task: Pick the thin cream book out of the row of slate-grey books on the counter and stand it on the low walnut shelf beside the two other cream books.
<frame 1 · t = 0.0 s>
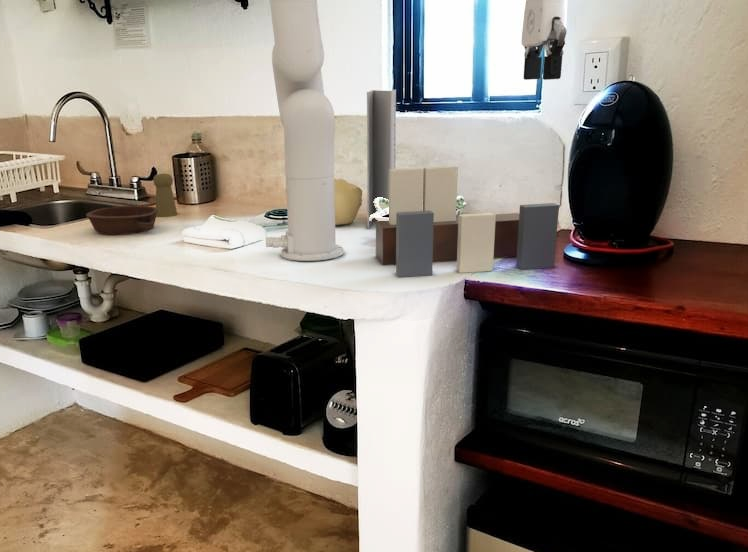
hand: (541, 79, 147), 31 cm above the worktop, tool pointing down, fingers open, 9 cm apart
olive pawn piece: (166, 215, 213), on the worktop
cream book: (474, 270, 138), on the worktop
dish: (124, 231, 193), on the worktop
grey book right: (534, 266, 138), on the worktop
book shelf: (450, 256, 149), on the worktop
cream book a: (405, 223, 146), point 7 cm above the worktop, touching book shelf
grey book left: (413, 274, 137), on the worktop
cream book b: (439, 221, 146), point 7 cm above the worktop, touching book shelf
sculpture: (335, 225, 187), on the worktop
tall grey panel: (381, 224, 185), on the worktop
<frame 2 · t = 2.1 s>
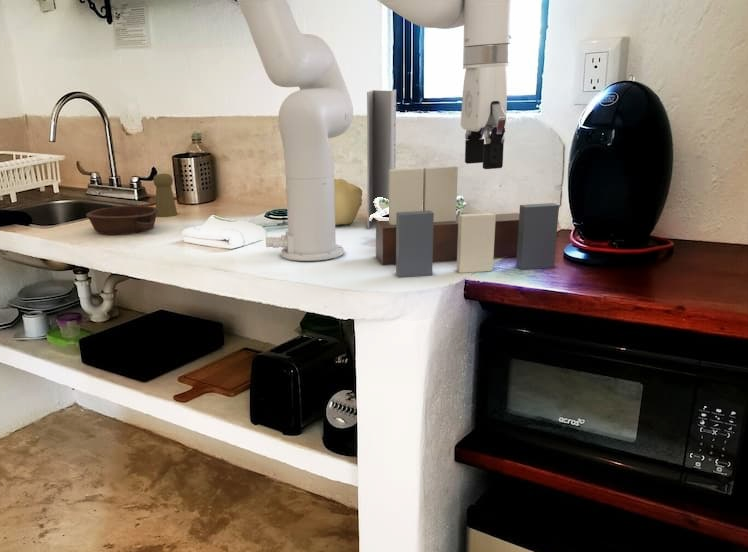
hand: (483, 165, 132), 18 cm above the worktop, tool pointing down, fingers open, 9 cm apart
nothing on the worktop moved.
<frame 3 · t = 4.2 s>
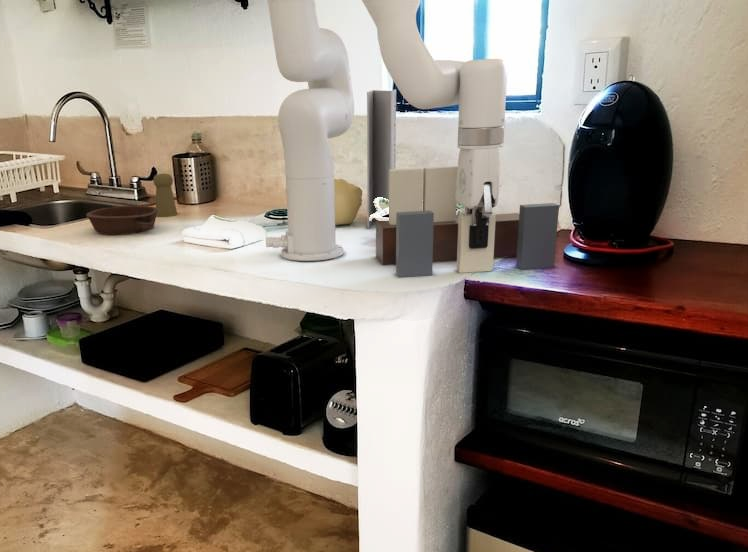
hand: (475, 245, 136), 5 cm above the worktop, tool pointing down, fingers closed on cream book, 2 cm apart
cream book: (474, 270, 138), on the worktop, touching gripper
everything else where it was.
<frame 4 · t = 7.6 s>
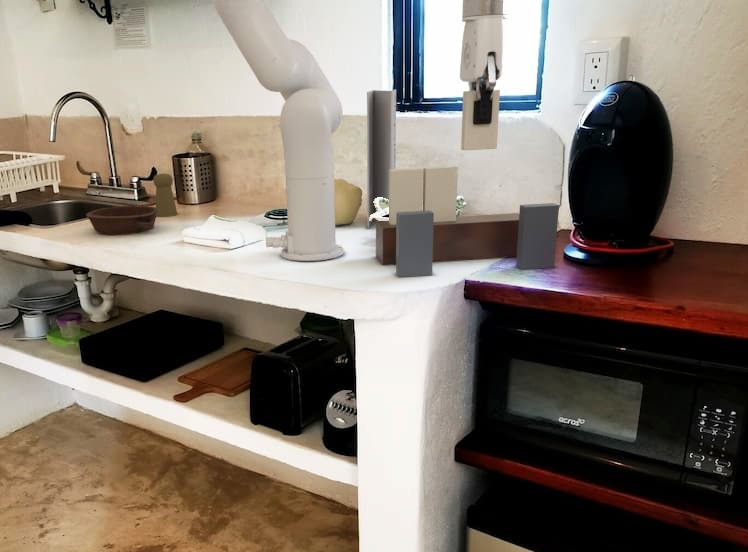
hand: (479, 122, 138), 25 cm above the worktop, tool pointing down, fingers closed on cream book
cream book: (478, 149, 140), point 20 cm above the worktop, touching gripper
everything else where it was.
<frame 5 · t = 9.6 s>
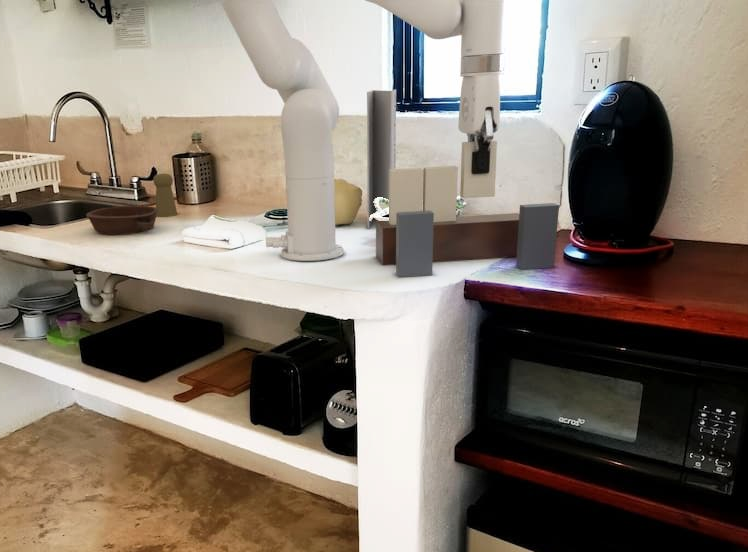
hand: (478, 171, 144), 16 cm above the worktop, tool pointing down, fingers closed on cream book
cream book: (477, 196, 145), point 11 cm above the worktop, touching gripper
everything else where it was.
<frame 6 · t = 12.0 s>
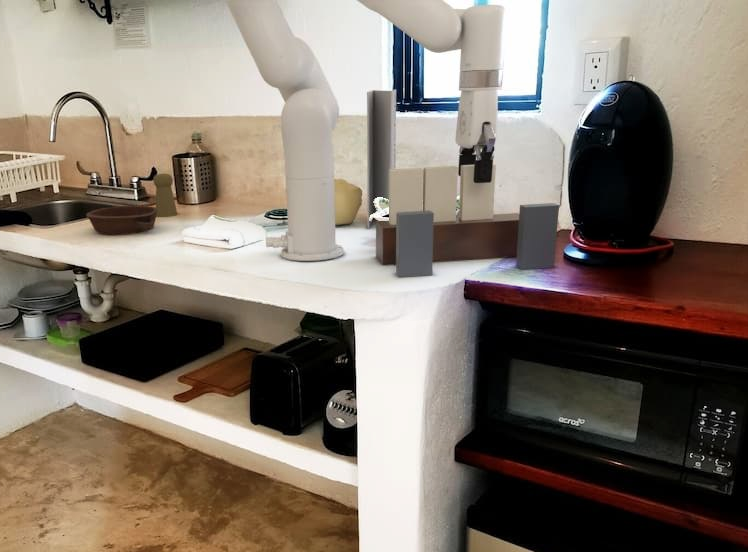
hand: (474, 179, 144), 14 cm above the worktop, tool pointing down, fingers open, 9 cm apart
cream book: (475, 218, 147), point 7 cm above the worktop, touching book shelf
everything else where it was.
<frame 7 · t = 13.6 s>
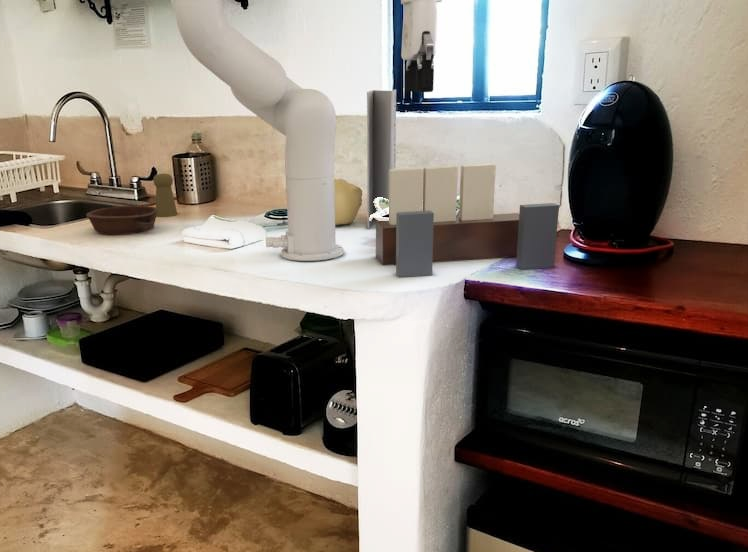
hand: (418, 91, 150), 30 cm above the worktop, tool pointing down, fingers open, 9 cm apart
nothing on the worktop moved.
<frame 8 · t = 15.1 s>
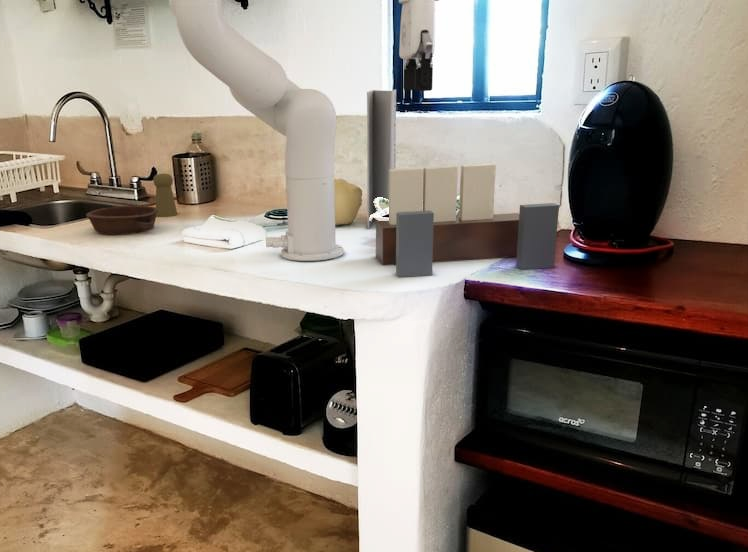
hand: (417, 90, 150), 30 cm above the worktop, tool pointing down, fingers open, 9 cm apart
nothing on the worktop moved.
at the end: cream book 0.6 cm from the target spot, point 7.0 cm above the worktop; cream book tilted 0°; cream book 7.1 cm from the cream book b (horizontally) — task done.
